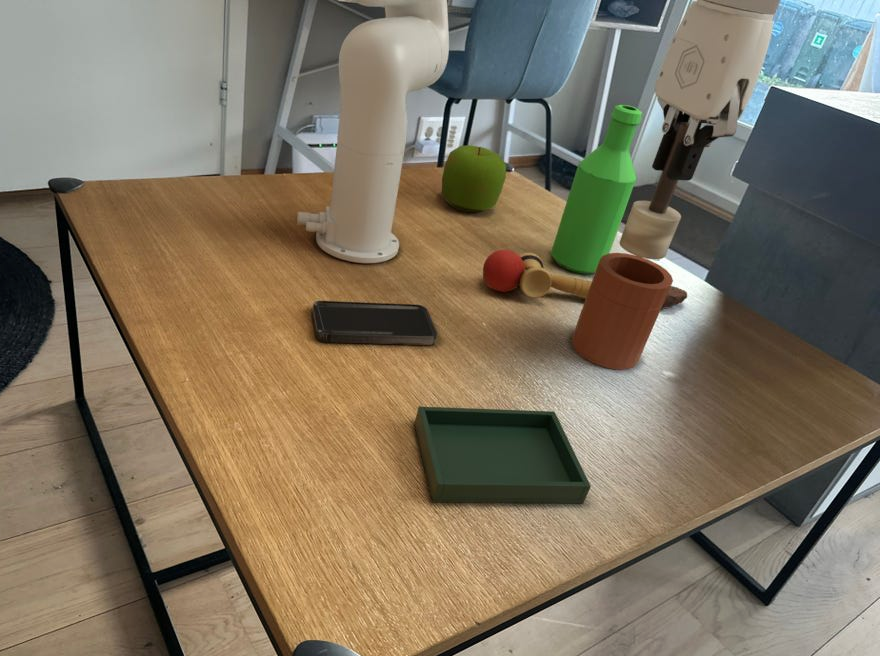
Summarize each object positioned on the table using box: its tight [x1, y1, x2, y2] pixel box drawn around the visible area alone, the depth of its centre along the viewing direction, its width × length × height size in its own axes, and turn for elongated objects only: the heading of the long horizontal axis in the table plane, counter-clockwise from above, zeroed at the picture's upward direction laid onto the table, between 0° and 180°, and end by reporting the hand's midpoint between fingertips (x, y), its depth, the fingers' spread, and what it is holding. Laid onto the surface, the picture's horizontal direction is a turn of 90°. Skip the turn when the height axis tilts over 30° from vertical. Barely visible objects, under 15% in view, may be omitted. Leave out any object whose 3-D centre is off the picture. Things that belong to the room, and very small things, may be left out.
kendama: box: [482, 249, 592, 300], centre depth 102 cm, size 8×6×18 cm
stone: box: [661, 285, 688, 309], centre depth 107 cm, size 7×7×3 cm
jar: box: [571, 252, 674, 370], centre depth 90 cm, size 9×9×12 cm
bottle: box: [551, 104, 643, 275], centre depth 108 cm, size 9×9×25 cm
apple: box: [441, 144, 507, 213], centre depth 125 cm, size 11×11×11 cm
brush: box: [619, 122, 690, 260], centre depth 81 cm, size 6×6×15 cm
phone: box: [311, 300, 438, 346], centre depth 88 cm, size 8×1×15 cm
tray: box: [414, 406, 592, 504], centre depth 71 cm, size 15×11×2 cm
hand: (671, 173), depth 80 cm, fingers closed on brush
